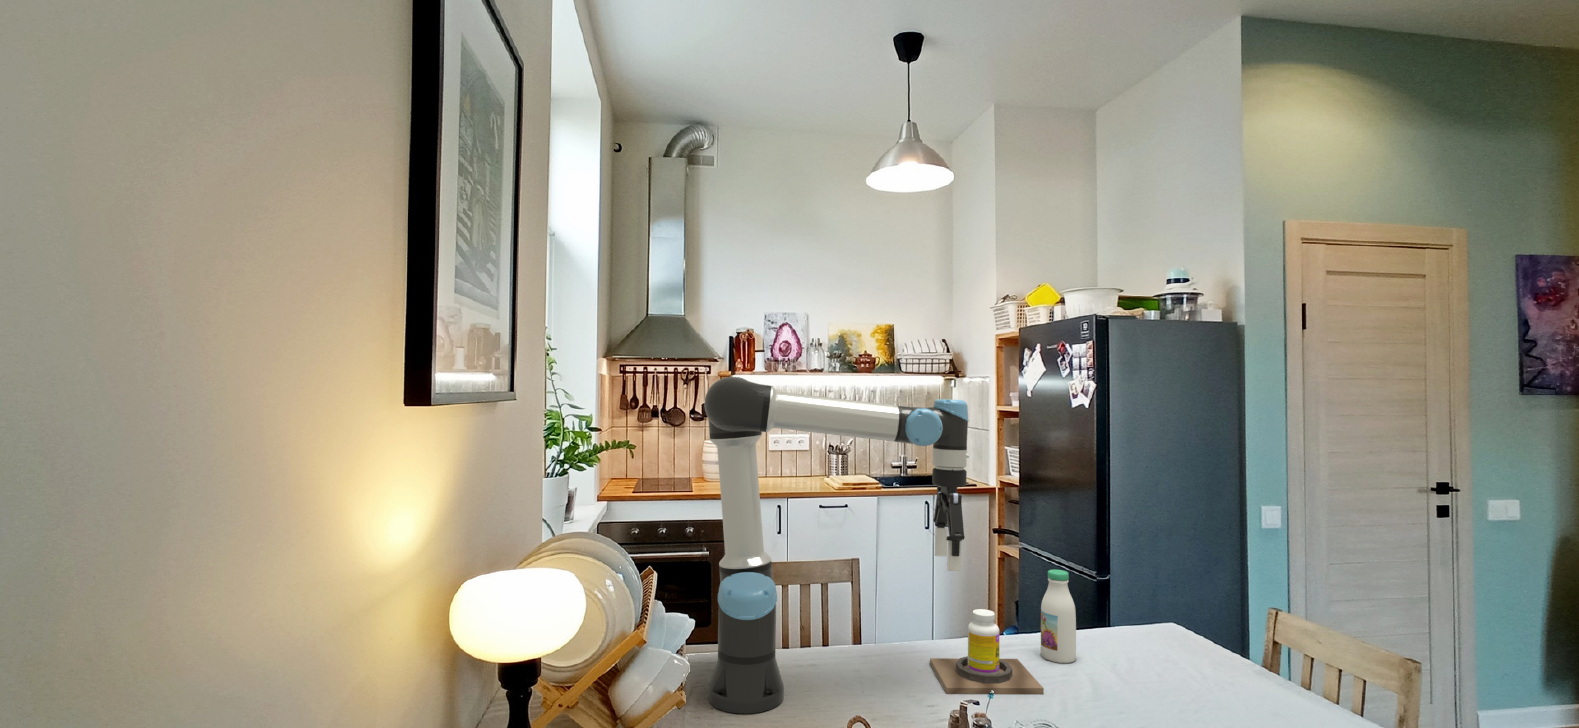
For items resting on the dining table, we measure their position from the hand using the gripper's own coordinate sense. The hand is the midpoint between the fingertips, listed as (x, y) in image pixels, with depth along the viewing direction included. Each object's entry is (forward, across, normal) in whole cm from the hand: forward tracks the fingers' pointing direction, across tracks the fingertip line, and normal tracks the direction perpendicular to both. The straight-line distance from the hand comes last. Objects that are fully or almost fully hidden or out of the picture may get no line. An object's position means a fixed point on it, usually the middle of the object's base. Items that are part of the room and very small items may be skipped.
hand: (947, 563), depth 160 cm
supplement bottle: (+22, -4, -8) cm, 24 cm away
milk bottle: (+23, +8, -28) cm, 37 cm away
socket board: (+23, -4, -8) cm, 25 cm away
